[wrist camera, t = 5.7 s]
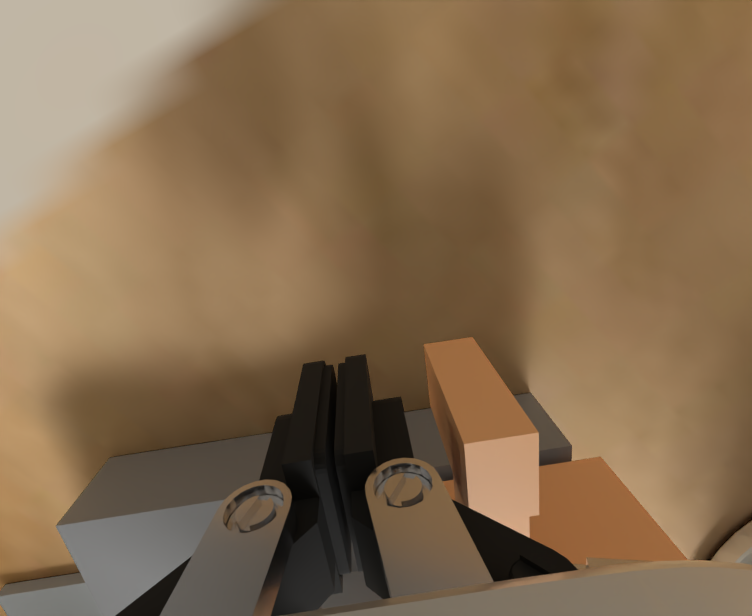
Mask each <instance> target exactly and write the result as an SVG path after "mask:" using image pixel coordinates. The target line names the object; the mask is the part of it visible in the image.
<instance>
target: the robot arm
mask: <svg viewBox="0 0 752 616" xmlns="http://www.w3.org/2000/svg"><path fill="white" fill-rule="evenodd" d="M351 540H352V545H353V550H354V554H355V559H356V564H357V568H358V571H359V572H362V571H363V573H364V578H365V583H366V586H367V587H368V588H369V589H371V590H372V591H373V592H374V593H376V594H377V595H378V596H380V597H381V598H382V599H381V600H375V601H369V602H363V603H356V604H350V605H344V606H338V607H331V608H325V609H322V607H321V606H322V604H323V603H324V602H325V601H326V600H327V599H328V598H329V597H330V596H331V595H332V594H338V593H343V574H349V573H351V570H352V555H351ZM115 616H752V520H751V521H750V522H748V523H747V524H746V525H745V526H743V527H742V528H741V529H739V530H738V531H737V532H735V533H734V534H733V535H732V536H731V537H730V538H729V539H728V540H727V541H726V542H725V543H724V544H723V545H722V546H721V547H720V548H719V550H718V551H717V552H716V554H715V555H714V556H713V558H712V559H711V560H710V561H706V560H676V561H641V560H623V559H605V558H588V557H586V565H583V564H572V563H571V562H570V561H569V560H568V559H567V558H566V557H564V556H563V555H561V554H559V553H558V552H556V551H555V550H553V549H551V548H549V547H547V546H545V545H543V544H541V543H539V542H537V541H535V540H533V539H531V538H529V537H527V536H525V535H523V534H521V533H519V532H517V531H515V530H513V529H511V528H509V527H507V526H505V525H503V524H501V523H499V522H497V521H495V520H493V519H491V518H489V517H487V516H485V515H483V514H481V513H479V512H477V511H475V510H473V509H471V508H469V507H467V506H465V505H463V504H461V503H459V502H457V501H454V500H452V499H451V497H450V495H449V493H448V491H447V489H446V487H445V485H444V483H443V481H442V480H441V478H440V476H439V474H438V472H437V471H436V470H435V469H434V467H433V466H431V465H430V464H428V463H426V462H425V461H422V460H418V459H415V458H414V455H413V451H412V446H411V442H410V437H409V432H408V428H407V423H406V419H405V414H404V409H403V405H402V400H401V397H396V398H389V399H383V400H376V401H373V396H372V390H371V384H370V378H369V372H368V366H367V360H366V355H365V354H363V355H357V356H351V357H346V358H345V363H340V364H338V380H337V382H336V377H335V372H334V367H333V365H327V366H326V364H325V361H319V362H312V363H306V364H303V368H302V373H301V377H300V382H299V386H298V391H297V395H296V400H295V405H294V409H293V414H287V415H281V416H278V417H277V419H276V421H275V425H274V429H273V432H272V436H271V439H270V443H269V447H268V450H267V454H266V457H265V461H264V465H263V468H262V472H261V475H260V479H259V481H255V482H252V483H249V484H247V485H244V486H242V487H241V488H239V489H237V490H236V491H234V492H233V493H232V494H231V495H229V496H228V497H227V498H226V499H225V500H224V501H223V503H222V504H221V505H220V507H219V508H218V510H217V512H216V513H215V515H214V517H213V519H212V521H211V522H210V524H209V526H208V528H207V530H206V532H205V533H204V535H203V537H202V539H201V541H200V543H199V544H198V546H197V548H196V550H195V552H194V554H193V555H192V556H191V557H190V558H189V559H187V560H186V561H185V562H183V563H182V564H181V565H180V566H178V567H177V568H176V569H174V570H173V571H172V572H171V573H169V574H168V575H167V576H166V577H164V578H163V579H162V580H160V581H159V582H158V583H157V584H155V585H154V586H153V587H151V588H150V589H149V590H148V591H146V592H145V593H144V594H142V595H141V596H140V597H139V598H137V599H136V600H135V601H133V602H132V603H131V604H130V605H128V606H127V607H126V608H124V609H123V610H122V611H121V612H119V613H118V614H117V615H115Z"/></svg>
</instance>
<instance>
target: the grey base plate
mask: <svg viewBox="0 0 752 616" xmlns="http://www.w3.org/2000/svg"><path fill="white" fill-rule="evenodd" d="M513 396H514V397H515V399H516V400H517V402H518V403H519V405H520V406H521V408H522V409H523V410H524V412H525V413H526V415H527V416H528V418H529V419H530V420H531V422H532V423H533V425H534V426H535V428H536V429H537V431H538V432H539V466H544V465H551V464H557V463H563V462H570V461H571V459H572V445H571V444H570V443H569V441H568V440H567V439H566V437H565V436H564V435H563V434H562V432H561V431H560V430H559V428H558V427H557V426H556V425H555V423H554V422H553V421H552V419H551V418H550V417H549V416H548V414H547V413H546V412H545V410H544V409H543V408H542V406H541V405H540V404H539V403H538V401H537V400H536V399H535V397H534V396H533V395H532V394H531V393H526V394H519V395H513ZM404 414H405V419H406V423H407V428H408V432H409V437H410V442H411V446H412V451H413V455H414V458H415V459H418V460H422V461H425V462H426V463H428V464H430V465H431V466H433V467H434V469H435V470H436V471H437V472H438V474H439V476H440V478H441V480H442V481H448V480H453V472H452V469H451V466H450V463H449V460H448V457H447V454H446V451H445V448H444V445H443V442H442V439H441V436H440V433H439V430H438V427H437V424H436V421H435V418H434V415H433V412H432V409H431V408H429V409H422V410H416V411H409V412H404ZM271 436H272V433H266V434H260V435H253V436H247V437H240V438H234V439H227V440H221V441H214V442H208V443H201V444H195V445H188V446H182V447H175V448H169V449H162V450H156V451H149V452H143V453H136V454H130V455H123V456H117V457H110V458H109V459H108V460H107V462H106V463H105V464H104V466H103V467H102V468H101V469H100V471H99V472H98V473H97V474H96V476H95V477H94V478H93V479H92V481H91V482H90V483H89V485H88V486H87V487H86V488H85V490H84V491H83V492H82V493H81V495H80V496H79V497H78V498H77V500H76V501H75V502H74V503H73V505H72V506H71V507H70V509H69V510H68V511H67V512H66V514H65V515H64V516H63V517H62V519H61V520H60V521H59V522H58V524H57V525H56V528H57V530H58V532H59V533H60V535H61V537H62V539H63V541H64V543H65V545H66V547H67V549H68V551H69V552H70V554H71V556H72V558H73V560H74V562H75V564H76V566H77V568H78V570H79V571H80V573H81V575H82V577H83V579H84V581H85V583H86V585H87V587H88V589H89V590H90V592H91V594H92V596H93V598H94V600H95V602H96V604H97V606H98V608H99V609H100V611H101V613H102V615H103V616H115V615H117V614H118V613H119V612H121V611H122V610H123V609H124V608H126V607H127V606H128V605H130V604H131V603H132V602H133V601H135V600H136V599H137V598H139V597H140V596H141V595H142V594H144V593H145V592H146V591H148V590H149V589H150V588H151V587H153V586H154V585H155V584H157V583H158V582H159V581H160V580H162V579H163V578H164V577H166V576H167V575H168V574H169V573H171V572H172V571H173V570H174V569H176V568H177V567H178V566H180V565H181V564H182V563H183V562H185V561H186V560H187V559H189V558H190V557H191V556H192V555H193V554H194V552H195V550H196V548H197V546H198V544H199V543H200V541H201V539H202V537H203V535H204V533H205V532H206V530H207V528H208V526H209V524H210V522H211V521H212V519H213V517H214V515H215V513H216V512H217V510H218V508H219V507H220V505H221V504H222V503H223V501H224V500H225V499H226V498H227V497H228V496H229V495H231V494H232V493H233V492H234V491H236V490H237V489H239V488H241V487H242V486H244V485H247V484H249V483H252V482H255V481H259V479H260V475H261V472H262V468H263V465H264V461H265V457H266V454H267V450H268V447H269V443H270V439H271ZM351 555H352V570H351V573H349V574H343V593H338V594H332V595H331V596H330V597H329V598H328V599H327V600H326V601H325V602H324V603H323V604H322V606H321V607H322V609H325V608H331V607H338V606H344V605H350V604H356V603H363V602H369V601H375V600H381V599H382V598H381V597H380V596H378V595H377V594H376V593H374V592H373V591H372V590H371V589H369V588H368V587H367V586H366V583H365V578H364V573H363V571H362V572H359V571H358V568H357V564H356V559H355V554H354V550H353V545H352V540H351Z"/></svg>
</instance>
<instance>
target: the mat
mask: <svg viewBox="0 0 752 616" xmlns="http://www.w3.org/2000/svg"><path fill="white" fill-rule="evenodd" d="M0 605H1V606H2V608H3V610H4V611H5V613H6V614H7V616H103V615H102V613H101V611H100V609H99V608H98V606H97V604H96V602H95V600H94V598H93V596H92V594H91V592H90V590H89V589H88V587H87V585H86V583H85V581H84V579H83V577H82V575H81V573H74V574H68V575H62V576H55V577H49V578H43V579H36V580H30V581H24V582H17V583H11V584H5V586H4V587H3V588H2V589H1V591H0Z"/></svg>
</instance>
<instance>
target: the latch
mask: <svg viewBox="0 0 752 616" xmlns="http://www.w3.org/2000/svg"><path fill="white" fill-rule="evenodd" d="M424 353H425V363H426V372H427V381H428V391H429V400H430V406H431V409H432V412H433V415H434V418H435V421H436V424H437V427H438V430H439V433H440V436H441V439H442V442H443V445H444V448H445V451H446V454H447V457H448V460H449V463H450V466H451V469H452V472H453V480H448V481H443V483H444V485H445V487H446V489H447V491H448V493H449V495H450V497H451V499H452V500H454V501H457V502H459V503H461V504H463V505H465V506H467V507H469V508H471V509H473V510H475V511H477V512H479V513H481V514H483V515H485V516H487V517H489V518H491V519H493V520H495V521H497V522H499V523H501V524H503V525H505V526H507V527H509V528H511V529H513V530H515V531H517V532H519V533H521V534H523V535H525V536H527V537H529V538H531V539H533V540H535V541H537V542H539V543H541V544H543V545H545V546H547V547H549V548H551V549H553V550H555V551H556V552H558V553H559V554H561V555H563V556H564V557H566V558H567V559H568V560H569V561H570V562H571V563H572V564H583V565H586V557H588V558H605V559H623V560H641V561H676V560H687V558H686V557H685V556H684V555H683V554H682V553H681V551H680V550H679V549H678V548H677V547H676V545H675V544H674V543H673V542H672V541H671V540H670V538H669V537H668V536H667V535H666V534H665V532H664V531H663V530H662V529H661V528H660V526H659V525H658V524H657V523H656V522H655V521H654V519H653V518H652V517H651V516H650V515H649V513H648V512H647V511H646V510H645V509H644V508H643V506H642V505H641V504H640V503H639V502H638V500H637V499H636V498H635V497H634V496H633V495H632V493H631V492H630V491H629V490H628V489H627V487H626V486H625V485H624V484H623V483H622V481H621V480H620V479H619V478H618V477H617V476H616V474H615V473H614V472H613V471H612V470H611V468H610V467H609V466H608V465H607V464H606V463H605V461H604V460H603V459H602V458H601V457H595V458H589V459H583V460H576V461H570V462H563V463H557V464H551V465H544V466H539V432H538V431H537V429H536V428H535V426H534V425H533V423H532V422H531V420H530V419H529V418H528V416H527V415H526V413H525V412H524V410H523V409H522V408H521V406H520V405H519V403H518V402H517V400H516V399H515V397H514V396H513V395H512V393H511V392H510V390H509V389H508V387H507V386H506V384H505V383H504V382H503V380H502V379H501V377H500V376H499V374H498V373H497V371H496V370H495V369H494V367H493V366H492V364H491V363H490V361H489V360H488V359H487V357H486V356H485V354H484V353H483V351H482V350H481V348H480V347H479V346H478V344H477V343H476V341H475V340H474V338H473V337H468V338H462V339H455V340H448V341H442V342H435V343H429V344H424Z"/></svg>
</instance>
